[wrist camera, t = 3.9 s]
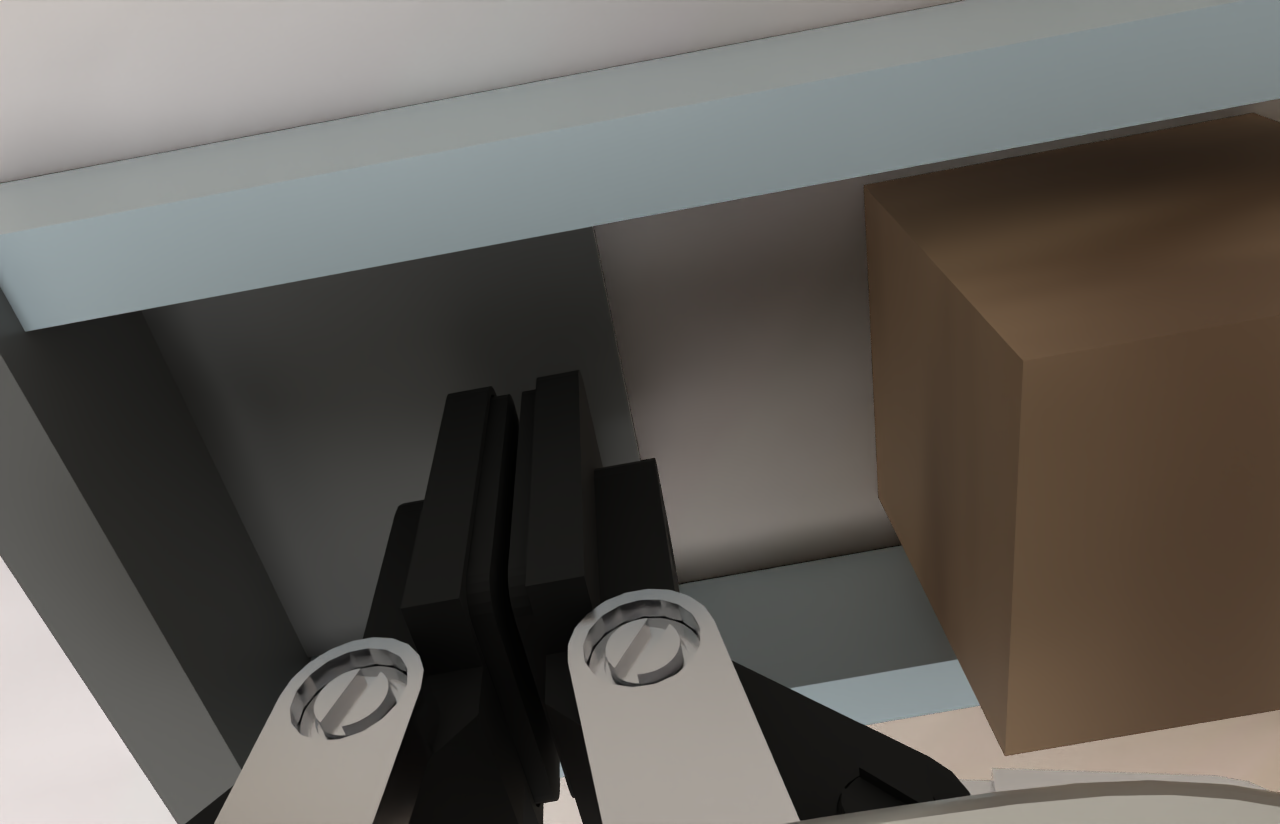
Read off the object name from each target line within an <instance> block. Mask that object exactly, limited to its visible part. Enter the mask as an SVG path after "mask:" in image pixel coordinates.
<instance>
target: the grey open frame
mask: <svg viewBox="0 0 1280 824" xmlns="http://www.w3.org/2000/svg"><path fill="white" fill-rule="evenodd" d="M1275 99H1280V0H965V1H959V2H954V3H949V4H944V5H938V6H933V7H928V8H923V9H917V10H912V11H907V12H901V13H896V14H891V15H886V16H880V17H875V18H870V19H865V20H859V21H854V22H849V23H844V24H838V25H833V26H828V27H822V28H817V29H812V30H807V31H801V32H796V33H791V34H786V35H780V36H775V37H770V38H765V39H759V40H754V41H749V42H743V43H738V44H733V45H728V46H722V47H717V48H712V49H707V50H701V51H696V52H691V53H686V54H680V55H675V56H670V57H664V58H659V59H654V60H649V61H643V62H638V63H633V64H628V65H622V66H617V67H612V68H607V69H601V70H596V71H591V72H585V73H580V74H575V75H570V76H564V77H559V78H554V79H549V80H543V81H538V82H533V83H528V84H522V85H517V86H512V87H506V88H501V89H496V90H491V91H485V92H480V93H475V94H470V95H464V96H459V97H454V98H449V99H443V100H438V101H433V102H427V103H422V104H417V105H412V106H406V107H401V108H396V109H391V110H385V111H380V112H375V113H370V114H364V115H359V116H354V117H348V118H343V119H338V120H333V121H327V122H322V123H317V124H312V125H306V126H301V127H296V128H291V129H285V130H280V131H275V132H269V133H264V134H259V135H254V136H248V137H243V138H238V139H233V140H227V141H222V142H217V143H212V144H206V145H201V146H196V147H190V148H185V149H180V150H175V151H169V152H164V153H159V154H154V155H148V156H143V157H138V158H133V159H127V160H122V161H117V162H111V163H106V164H101V165H96V166H90V167H85V168H80V169H75V170H69V171H64V172H59V173H53V174H48V175H43V176H38V177H32V178H27V179H22V180H17V181H11V182H6V183H1V184H0V556H1V557H2V559H3V560H4V562H5V563H6V565H7V566H8V568H9V569H10V571H11V572H12V574H13V575H14V577H15V578H16V580H17V582H18V583H19V585H20V586H21V588H22V589H23V591H24V592H25V594H26V595H27V597H28V598H29V600H30V601H31V603H32V604H33V606H34V607H35V609H36V610H37V612H38V613H39V615H40V616H41V618H42V619H43V621H44V622H45V624H46V625H47V627H48V628H49V630H50V631H51V633H52V634H53V636H54V637H55V639H56V640H57V642H58V644H59V645H60V647H61V648H62V650H63V651H64V653H65V654H66V656H67V657H68V659H69V660H70V662H71V663H72V665H73V666H74V668H75V669H76V671H77V672H78V674H79V675H80V677H81V678H82V680H83V681H84V683H85V684H86V686H87V687H88V689H89V690H90V692H91V693H92V695H93V696H94V698H95V699H96V701H97V703H98V704H99V706H100V707H101V709H102V710H103V712H104V713H105V715H106V716H107V718H108V719H109V721H110V722H111V724H112V725H113V727H114V728H115V730H116V731H117V733H118V734H119V736H120V737H121V739H122V740H123V742H124V743H125V745H126V746H127V748H128V749H129V751H130V752H131V754H132V755H133V757H134V758H135V760H136V762H137V763H138V765H139V766H140V768H141V769H142V771H143V772H144V774H145V775H146V777H147V778H148V780H149V781H150V783H151V784H152V786H153V787H154V789H155V790H156V792H157V793H158V795H159V796H160V798H161V799H162V801H163V802H164V804H165V805H166V807H167V808H168V810H169V811H170V813H171V814H172V816H173V817H174V819H175V821H176V822H177V824H185V823H187V822H188V821H189V820H190V819H192V818H193V817H194V816H195V815H197V814H198V813H199V812H200V811H202V810H203V809H204V808H206V807H207V806H208V805H209V804H211V803H212V802H213V801H214V800H216V799H217V798H218V797H219V796H221V795H222V794H223V793H224V792H226V791H227V790H228V789H229V788H231V787H232V786H233V785H234V784H235V782H236V780H237V778H238V776H239V774H240V772H241V770H242V768H243V766H244V764H245V763H246V761H247V759H248V757H249V755H250V753H251V751H252V749H253V747H254V745H255V743H256V741H257V739H258V737H259V735H260V733H261V731H262V730H263V728H264V726H265V724H266V722H267V720H268V718H269V716H270V714H271V712H272V710H273V708H274V706H275V704H276V702H277V700H278V698H279V696H280V695H281V694H282V692H283V691H284V689H285V688H286V686H287V685H288V683H289V682H290V681H291V679H292V678H293V677H294V676H295V675H296V674H297V673H298V672H300V671H301V670H302V669H303V668H304V667H305V666H306V665H307V664H308V663H309V662H311V661H313V660H314V659H316V658H317V657H319V656H321V655H322V654H324V653H325V652H327V651H329V650H331V649H333V648H336V647H338V646H341V645H343V644H346V643H348V642H351V641H355V640H361V639H363V636H364V632H365V628H366V624H367V620H368V616H369V612H370V609H371V605H372V601H373V597H374V593H375V589H376V585H377V581H378V578H379V574H380V570H381V566H382V562H383V558H384V554H385V550H386V547H387V543H388V539H389V535H390V531H391V527H392V523H393V519H394V516H395V513H396V510H397V508H398V506H399V505H401V504H402V503H408V502H413V501H419V500H424V498H425V494H426V489H427V485H428V480H429V475H430V471H431V466H432V462H433V457H434V453H435V448H436V443H437V439H438V434H439V430H440V425H441V420H442V416H443V411H444V407H445V402H446V398H447V395H448V394H450V393H455V392H461V391H466V390H472V389H477V388H483V387H488V386H492V387H493V388H494V390H495V392H496V395H497V396H501V395H507V394H510V395H511V396H512V399H513V401H514V404H515V408H516V412H517V415H518V419H519V422H520V409H521V397H522V392H523V391H529V390H534V389H536V379H537V378H538V377H543V376H548V375H554V374H559V373H565V372H570V371H576V370H580V372H581V375H582V378H583V382H584V386H585V391H586V395H587V400H588V404H589V408H590V413H591V417H592V421H593V426H594V430H595V435H596V439H597V443H598V448H599V452H600V456H601V461H602V465H603V467H608V466H613V465H619V464H624V463H630V462H635V461H641V460H640V455H639V450H638V445H637V440H636V435H635V430H634V425H633V420H632V415H631V410H630V405H629V401H628V396H627V391H626V386H625V381H624V376H623V371H622V366H621V361H620V356H619V351H618V346H617V341H616V336H615V331H614V326H613V321H612V316H611V311H610V306H609V301H608V296H607V291H606V286H605V281H604V276H603V271H602V266H601V262H600V257H599V252H598V247H597V242H596V237H595V232H594V227H593V226H597V225H602V224H608V223H613V222H618V221H624V220H629V219H634V218H640V217H645V216H651V215H656V214H661V213H667V212H672V211H678V210H683V209H688V208H694V207H699V206H704V205H710V204H715V203H721V202H726V201H731V200H737V199H742V198H747V197H753V196H758V195H764V194H769V193H774V192H780V191H785V190H791V189H796V188H801V187H807V186H812V185H817V184H823V183H828V182H834V181H839V180H844V179H850V178H855V177H861V176H866V175H871V174H877V173H882V172H887V171H893V170H898V169H904V168H909V167H914V166H920V165H925V164H931V163H936V162H941V161H947V160H952V159H957V158H963V157H968V156H974V155H979V154H984V153H990V152H995V151H1001V150H1006V149H1011V148H1017V147H1022V146H1027V145H1033V144H1038V143H1044V142H1049V141H1054V140H1060V139H1065V138H1071V137H1076V136H1081V135H1087V134H1092V133H1097V132H1103V131H1108V130H1114V129H1119V128H1124V127H1130V126H1135V125H1140V124H1146V123H1151V122H1157V121H1162V120H1167V119H1173V118H1178V117H1184V116H1189V115H1194V114H1200V113H1205V112H1210V111H1216V110H1221V109H1227V108H1232V107H1237V106H1243V105H1248V104H1254V103H1259V102H1264V101H1270V100H1275ZM679 591H680V593H682V594H685V595H688V596H690V597H692V598H693V599H695V600H696V601H698V602H699V603H701V604H702V605H704V606H705V608H706V609H707V611H708V612H709V613H710V615H711V616H712V618H713V619H714V621H715V623H716V626H717V628H718V630H719V633H720V635H721V637H722V640H723V642H724V644H725V647H726V649H727V651H728V654H729V656H730V658H731V660H732V661H734V662H736V663H738V664H741V665H743V666H745V667H747V668H749V669H751V670H753V671H755V672H757V673H759V674H761V675H763V676H765V677H767V678H769V679H771V680H773V681H775V682H777V683H779V684H781V685H783V686H785V687H788V688H790V689H792V690H794V691H796V692H798V693H800V694H802V695H804V696H806V697H808V698H810V699H812V700H814V701H816V702H818V703H820V704H822V705H824V706H826V707H828V708H830V709H833V710H835V711H837V712H839V713H841V714H843V715H845V716H847V717H849V718H851V719H853V720H855V721H857V722H859V723H861V724H863V725H870V724H876V723H882V722H887V721H893V720H899V719H905V718H911V717H917V716H922V715H928V714H934V713H940V712H946V711H952V710H957V709H963V708H969V707H975V706H980V704H979V702H978V700H977V698H976V696H975V694H974V692H973V690H972V688H971V686H970V684H969V682H968V680H967V678H966V675H965V673H964V671H963V669H962V667H961V665H960V663H959V661H958V659H957V657H956V655H955V653H954V651H953V649H952V647H951V645H950V643H949V641H948V639H947V637H946V635H945V633H944V630H943V628H942V626H941V624H940V622H939V620H938V618H937V616H936V614H935V612H934V610H933V608H932V606H931V604H930V602H929V600H928V598H927V596H926V594H925V592H924V590H923V588H922V585H921V583H920V581H919V579H918V577H917V575H916V573H915V571H914V569H913V567H912V565H911V563H910V561H909V559H908V557H907V555H906V553H905V551H904V549H903V547H902V546H896V547H890V548H885V549H879V550H873V551H867V552H862V553H856V554H850V555H845V556H839V557H833V558H828V559H822V560H816V561H811V562H805V563H799V564H794V565H788V566H782V567H776V568H771V569H765V570H759V571H754V572H748V573H742V574H737V575H731V576H725V577H720V578H714V579H708V580H703V581H697V582H691V583H686V584H680V585H679ZM561 777H565V776H564V773H563V769H562V766H561V763H560V778H561Z"/></svg>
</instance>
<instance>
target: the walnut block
mask: <svg viewBox="0 0 1280 824" xmlns="http://www.w3.org/2000/svg"><path fill="white" fill-rule="evenodd" d="M864 206H865V227H866V248H867V269H868V290H869V311H870V332H871V353H872V374H873V395H874V416H875V437H876V458H877V480H878V498H879V500H880V502H881V504H882V506H883V508H884V510H885V512H886V514H887V516H888V518H889V520H890V522H891V524H892V526H893V528H894V530H895V532H896V534H897V536H898V538H899V540H900V543H901V545H902V547H903V549H904V551H905V553H906V555H907V557H908V559H909V561H910V563H911V565H912V567H913V569H914V571H915V573H916V575H917V577H918V579H919V581H920V583H921V585H922V588H923V590H924V592H925V594H926V596H927V598H928V600H929V602H930V604H931V606H932V608H933V610H934V612H935V614H936V616H937V618H938V620H939V622H940V624H941V626H942V628H943V630H944V633H945V635H946V637H947V639H948V641H949V643H950V645H951V647H952V649H953V651H954V653H955V655H956V657H957V659H958V661H959V663H960V665H961V667H962V669H963V671H964V673H965V675H966V678H967V680H968V682H969V684H970V686H971V688H972V690H973V692H974V694H975V696H976V698H977V700H978V702H979V704H980V706H981V708H982V710H983V712H984V714H985V716H986V718H987V720H988V723H989V725H990V727H991V729H992V731H993V733H994V735H995V737H996V739H997V741H998V743H999V745H1000V747H1001V749H1002V751H1003V753H1004V755H1005V756H1008V755H1014V754H1020V753H1026V752H1032V751H1038V750H1044V749H1050V748H1056V747H1062V746H1068V745H1074V744H1080V743H1085V742H1091V741H1097V740H1103V739H1109V738H1115V737H1121V736H1127V735H1133V734H1139V733H1145V732H1151V731H1157V730H1163V729H1168V728H1174V727H1180V726H1186V725H1192V724H1198V723H1204V722H1210V721H1216V720H1222V719H1228V718H1234V717H1240V716H1246V715H1252V714H1257V713H1263V712H1269V711H1275V710H1280V122H1277V121H1275V120H1272V119H1269V118H1266V117H1264V116H1261V115H1258V114H1256V113H1249V114H1244V115H1238V116H1233V117H1227V118H1222V119H1217V120H1211V121H1206V122H1201V123H1195V124H1190V125H1184V126H1179V127H1174V128H1168V129H1163V130H1157V131H1152V132H1147V133H1141V134H1136V135H1131V136H1125V137H1120V138H1114V139H1109V140H1104V141H1098V142H1093V143H1087V144H1082V145H1077V146H1071V147H1066V148H1061V149H1055V150H1050V151H1044V152H1039V153H1034V154H1028V155H1023V156H1017V157H1012V158H1007V159H1001V160H996V161H991V162H985V163H980V164H974V165H969V166H964V167H958V168H953V169H948V170H942V171H937V172H931V173H926V174H921V175H915V176H910V177H904V178H899V179H894V180H888V181H883V182H878V183H872V184H867V185H864Z"/></svg>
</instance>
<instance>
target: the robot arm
mask: <svg viewBox="0 0 1280 824" xmlns="http://www.w3.org/2000/svg"><path fill="white" fill-rule="evenodd" d="M560 763H561V766H562V769H563V773H564V776H565V779H566V782H567V785H568V788H569V791H570V794H571V796H572V797H573V798H575V800H576V803H577V806H578V810H579V813H580V816H581V819H582V822H583V824H1280V792H1274V791H1269V790H1267V789H1265V788H1262V787H1260V786H1258V785H1256V784H1253V783H1251V782H1249V781H1244V780H1238V779H1232V778H1227V777H1221V776H1215V775H1185V774H1155V773H1125V772H1095V771H1065V770H1035V769H1005V768H992V781H989V780H962V779H958V778H957V777H956V776H955V775H954V774H953V772H952V771H950V770H948V769H947V768H945V767H944V766H942V765H941V764H939V763H938V762H936V761H935V760H933V759H932V758H930V757H929V756H927V755H925V754H922V753H920V752H918V751H916V750H914V749H912V748H910V747H908V746H906V745H904V744H902V743H900V742H898V741H896V740H894V739H892V738H890V737H888V736H886V735H884V734H882V733H880V732H877V731H875V730H873V729H871V728H869V727H867V726H865V725H863V724H861V723H859V722H857V721H855V720H853V719H851V718H849V717H847V716H845V715H843V714H841V713H839V712H837V711H835V710H833V709H830V708H828V707H826V706H824V705H822V704H820V703H818V702H816V701H814V700H812V699H810V698H808V697H806V696H804V695H802V694H800V693H798V692H796V691H794V690H792V689H790V688H788V687H785V686H783V685H781V684H779V683H777V682H775V681H773V680H771V679H769V678H767V677H765V676H763V675H761V674H759V673H757V672H755V671H753V670H751V669H749V668H747V667H745V666H743V665H741V664H738V663H736V662H734V661H732V660H731V658H730V656H729V654H728V651H727V649H726V647H725V644H724V642H723V640H722V637H721V635H720V633H719V630H718V628H717V626H716V623H715V621H714V619H713V618H712V616H711V615H710V613H709V612H708V611H707V609H706V608H705V606H704V605H702V604H701V603H699V602H698V601H696V600H695V599H693V598H692V597H690V596H688V595H685V594H682V593H680V591H679V585H678V579H677V573H676V566H675V561H674V555H673V549H672V543H671V538H670V532H669V527H668V521H667V516H666V510H665V505H664V500H663V495H662V490H661V484H660V479H659V474H658V469H657V464H656V460H655V458H652V459H646V460H641V461H635V462H630V463H624V464H619V465H613V466H608V467H603V465H602V461H601V456H600V452H599V448H598V443H597V439H596V435H595V430H594V426H593V421H592V417H591V413H590V408H589V404H588V400H587V395H586V391H585V386H584V382H583V378H582V375H581V372H580V370H576V371H570V372H565V373H559V374H554V375H548V376H543V377H538V378H537V379H536V389H534V390H529V391H523V392H522V397H521V409H520V422H519V419H518V415H517V412H516V408H515V404H514V401H513V399H512V396H511V395H510V394H507V395H501V396H497V395H496V392H495V390H494V388H493V387H492V386H488V387H483V388H477V389H472V390H466V391H461V392H455V393H450V394H448V395H447V398H446V402H445V407H444V411H443V416H442V420H441V425H440V430H439V434H438V439H437V443H436V448H435V453H434V457H433V462H432V466H431V471H430V475H429V480H428V485H427V489H426V494H425V498H424V500H419V501H413V502H408V503H402V504H401V505H399V506H398V508H397V510H396V513H395V516H394V519H393V523H392V527H391V531H390V535H389V539H388V543H387V547H386V550H385V554H384V558H383V562H382V566H381V570H380V574H379V578H378V581H377V585H376V589H375V593H374V597H373V601H372V605H371V609H370V612H369V616H368V620H367V624H366V628H365V632H364V636H363V639H361V640H355V641H351V642H348V643H346V644H343V645H341V646H338V647H336V648H333V649H331V650H329V651H327V652H325V653H324V654H322V655H321V656H319V657H317V658H316V659H314V660H313V661H311V662H309V663H308V664H307V665H306V666H305V667H304V668H303V669H302V670H301V671H300V672H298V673H297V674H296V675H295V676H294V677H293V678H292V679H291V681H290V682H289V683H288V685H287V686H286V688H285V689H284V691H283V692H282V694H281V695H280V696H279V698H278V700H277V702H276V704H275V706H274V708H273V710H272V712H271V714H270V716H269V718H268V720H267V722H266V724H265V726H264V728H263V730H262V731H261V733H260V735H259V737H258V739H257V741H256V743H255V745H254V747H253V749H252V751H251V753H250V755H249V757H248V759H247V761H246V763H245V764H244V766H243V768H242V770H241V772H240V774H239V776H238V778H237V780H236V782H235V784H234V785H233V786H232V787H231V788H229V789H228V790H227V791H226V792H224V793H223V794H222V795H221V796H219V797H218V798H217V799H216V800H214V801H213V802H212V803H211V804H209V805H208V806H207V807H206V808H204V809H203V810H202V811H200V812H199V813H198V814H197V815H195V816H194V817H193V818H192V819H190V820H189V821H188V822H187V823H185V824H543V803H547V802H553V801H557V800H558V799H559V795H560Z"/></svg>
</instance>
